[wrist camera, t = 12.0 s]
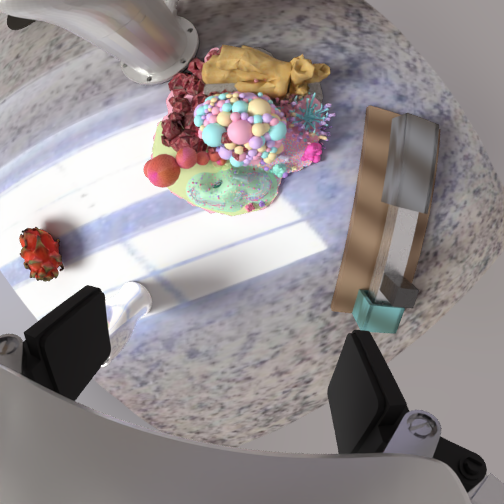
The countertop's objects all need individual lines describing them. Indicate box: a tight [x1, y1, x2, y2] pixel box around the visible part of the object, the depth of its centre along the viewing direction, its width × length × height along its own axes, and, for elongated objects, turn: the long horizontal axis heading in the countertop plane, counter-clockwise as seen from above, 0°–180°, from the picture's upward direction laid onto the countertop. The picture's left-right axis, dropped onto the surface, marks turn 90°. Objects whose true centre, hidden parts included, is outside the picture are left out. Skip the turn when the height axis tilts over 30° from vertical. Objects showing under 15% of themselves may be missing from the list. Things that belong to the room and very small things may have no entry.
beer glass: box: [100, 282, 152, 368], centre depth 37 cm, size 7×7×15 cm
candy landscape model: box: [144, 45, 336, 216], centre depth 32 cm, size 25×24×9 cm
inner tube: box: [367, 204, 419, 308], centre depth 32 cm, size 19×3×8 cm, turn 172°
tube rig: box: [331, 106, 440, 333], centre depth 34 cm, size 30×12×7 cm, turn 172°
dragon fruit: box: [19, 227, 64, 282], centre depth 39 cm, size 8×8×12 cm
